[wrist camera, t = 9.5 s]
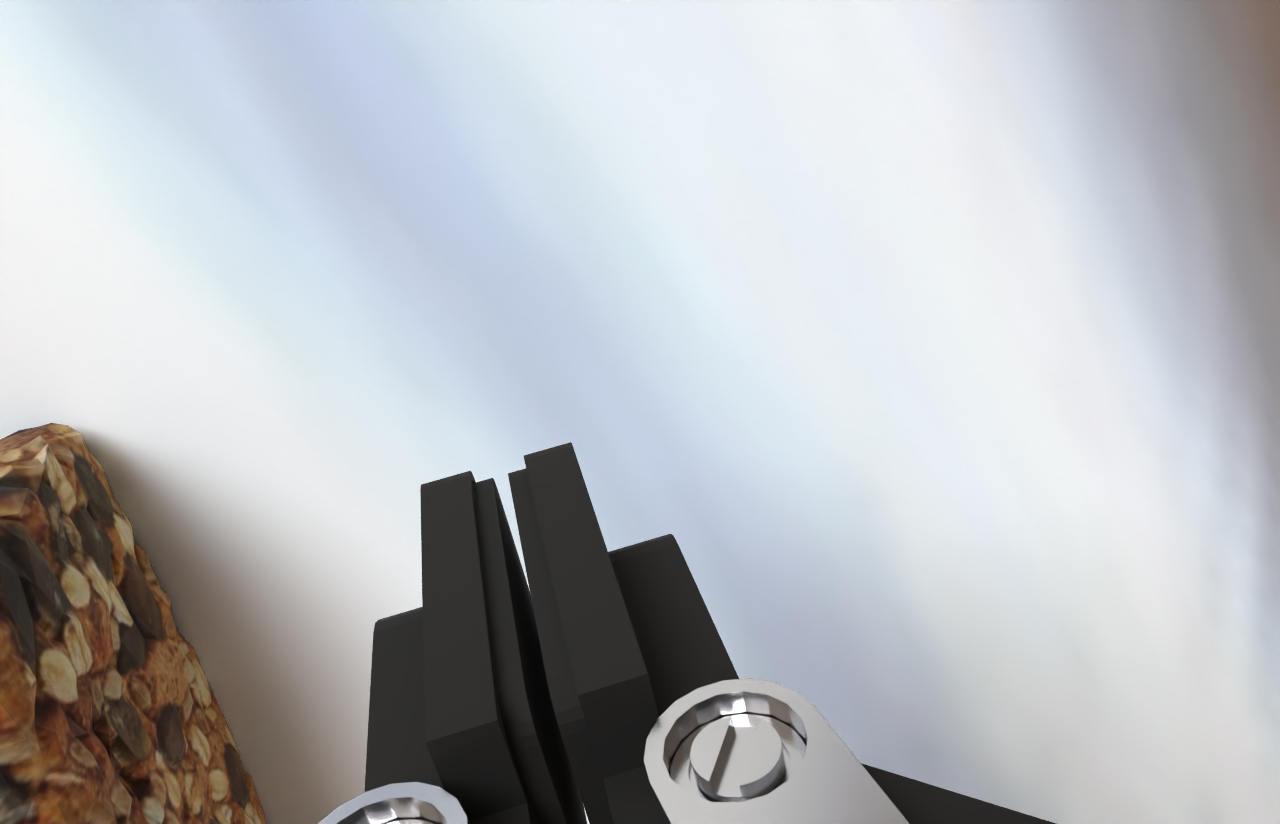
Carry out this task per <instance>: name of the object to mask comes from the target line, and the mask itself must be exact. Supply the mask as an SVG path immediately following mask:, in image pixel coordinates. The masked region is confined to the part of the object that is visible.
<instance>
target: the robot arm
mask: <svg viewBox="0 0 1280 824" xmlns="http://www.w3.org/2000/svg"><path fill="white" fill-rule="evenodd" d="M524 460H525V464H526V469H523V470H519V471H516V472H512V473H509V474H508V476H509V482H510V487H511V492H512V498H513V503H514V508H515V514H516V519H517V524H518V529H519V535H520V540H521V545H522V551H523V556H524V561H525V567H526V572H527V577H528V583H529V588H530V591H529V588H528V585H527V582H526V578H525V575H524V572H523V569H522V566H521V563H520V559H519V556H518V553H517V550H516V547H515V544H514V540H513V537H512V534H511V531H510V528H509V525H508V521H507V518H506V515H505V512H504V509H503V505H502V502H501V499H500V496H499V493H498V490H497V487H496V484H495V481H494V479H493V478H491V479H487V480H484V481H480V482H477V483H476V482H475V479H474V477H473V474H472V472H471V471H468V472H464V473H461V474H457V475H454V476H450V477H447V478H443V479H440V480H436V481H433V482H429V483H426V484H422V485H421V541H422V597H423V607H421V608H417V609H414V610H411V611H407V612H404V613H400V614H397V615H394V616H390V617H387V618H383V619H380V620H378V621H377V622H376V623H375V627H374V634H373V652H372V670H371V687H370V705H369V723H368V741H367V759H366V777H365V792H364V793H362V794H360V795H358V796H357V797H355V798H353V799H351V800H349V801H347V802H346V803H344V804H342V805H340V806H338V807H337V808H336V809H335V810H333V811H332V812H331V813H330V814H329V815H327V816H326V817H325V818H324V819H323V820H321V821H320V822H319V823H318V824H587V821H586V816H585V811H584V807H585V810H586V813H587V817H588V820H589V823H590V824H1055V823H1052V822H1049V821H1046V820H1042V819H1039V818H1036V817H1033V816H1030V815H1026V814H1023V813H1020V812H1017V811H1013V810H1010V809H1007V808H1004V807H1000V806H997V805H994V804H991V803H987V802H984V801H981V800H978V799H975V798H971V797H968V796H965V795H962V794H958V793H955V792H952V791H949V790H945V789H942V788H939V787H936V786H932V785H929V784H926V783H923V782H920V781H916V780H913V779H910V778H907V777H903V776H900V775H897V774H894V773H890V772H887V771H884V770H881V769H877V768H874V767H871V766H868V765H865V764H861V763H860V762H859V761H858V759H857V758H856V757H855V756H854V754H853V753H852V752H851V751H850V749H849V748H848V747H847V746H846V744H845V743H844V742H843V741H842V739H841V738H840V737H839V736H838V734H837V733H836V732H835V731H834V730H833V728H832V727H831V726H830V725H829V723H828V722H827V721H826V720H825V718H824V717H823V716H822V715H821V713H820V712H819V711H818V710H817V708H816V707H815V706H814V705H812V704H811V703H810V702H809V701H808V700H807V699H806V698H804V697H803V696H802V695H801V694H800V693H799V692H797V691H795V690H792V689H790V688H788V687H785V686H783V685H781V684H778V683H776V682H771V681H764V680H757V679H751V678H748V679H739V678H738V675H737V673H736V671H735V669H734V667H733V664H732V662H731V660H730V658H729V656H728V653H727V651H726V649H725V647H724V645H723V642H722V640H721V638H720V636H719V634H718V631H717V629H716V627H715V625H714V623H713V620H712V618H711V616H710V614H709V612H708V609H707V607H706V605H705V603H704V601H703V598H702V596H701V594H700V592H699V590H698V588H697V585H696V583H695V581H694V579H693V577H692V574H691V572H690V570H689V568H688V566H687V563H686V561H685V559H684V557H683V555H682V552H681V550H680V548H679V546H678V544H677V542H676V540H675V538H674V536H673V535H672V534H668V535H665V536H661V537H658V538H655V539H651V540H648V541H644V542H641V543H638V544H634V545H631V546H628V547H624V548H621V549H617V550H614V551H611V552H608V551H607V548H606V545H605V542H604V539H603V536H602V533H601V530H600V527H599V524H598V521H597V518H596V515H595V512H594V509H593V506H592V503H591V500H590V497H589V494H588V491H587V488H586V485H585V482H584V479H583V476H582V473H581V470H580V467H579V464H578V461H577V458H576V455H575V452H574V449H573V446H572V443H567V444H563V445H560V446H556V447H553V448H549V449H546V450H542V451H539V452H535V453H532V454H528V455H525V456H524ZM530 593H531V594H530ZM583 804H584V806H583Z"/></svg>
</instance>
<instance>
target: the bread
mask: <svg viewBox="0 0 1280 824" xmlns="http://www.w3.org/2000/svg"><path fill="white" fill-rule="evenodd" d="M0 824H266V821H265V817H264V813H263V810H262V808H261V805H260V803H259V800H258V797H257V794H256V791H255V787H254V784H253V781H252V778H251V776H249V775H248V774H247V773H245V772H244V771H243V768H242V764H241V761H240V757H239V754H238V750H237V747H236V744H235V742H234V740H233V737H232V735H231V733H230V730H229V728H228V726H227V723H226V721H225V719H224V717H223V714H222V712H221V710H220V707H219V705H218V703H217V701H216V698H215V696H214V694H213V692H212V690H211V688H210V685H209V683H208V681H207V679H206V677H205V674H204V672H203V670H202V667H201V665H200V663H199V660H198V658H197V655H196V653H195V651H194V648H193V647H192V646H191V645H190V644H189V643H188V642H187V641H186V640H185V639H184V638H183V637H182V636H181V635H180V634H179V633H178V631H177V628H176V625H175V622H174V619H173V616H172V607H171V600H170V599H169V597H168V596H167V594H166V593H165V592H164V591H163V590H161V588H160V585H159V583H158V581H157V578H156V576H155V574H154V571H153V569H152V567H151V564H150V562H149V560H148V557H147V555H146V553H145V552H144V551H143V550H142V549H141V548H140V547H139V546H138V545H137V544H136V543H135V542H134V541H133V530H132V526H131V524H130V523H129V521H128V519H127V517H126V516H125V514H124V512H123V511H122V509H121V507H120V506H119V504H118V502H117V501H116V499H115V497H114V496H113V494H112V492H111V489H110V487H109V484H108V481H107V479H106V476H105V473H104V471H103V468H102V466H101V465H100V464H99V462H98V461H97V460H96V459H95V458H94V456H93V455H92V454H91V453H90V451H89V450H88V448H87V446H86V444H85V441H84V438H83V435H82V434H80V433H79V432H77V431H76V430H74V429H72V428H71V427H69V426H66V425H60V424H54V423H50V424H47V425H43V426H40V427H35V428H30V429H24V430H19V431H17V432H15V433H13V434H11V435H9V436H7V437H5V438H3V439H1V440H0Z"/></svg>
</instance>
